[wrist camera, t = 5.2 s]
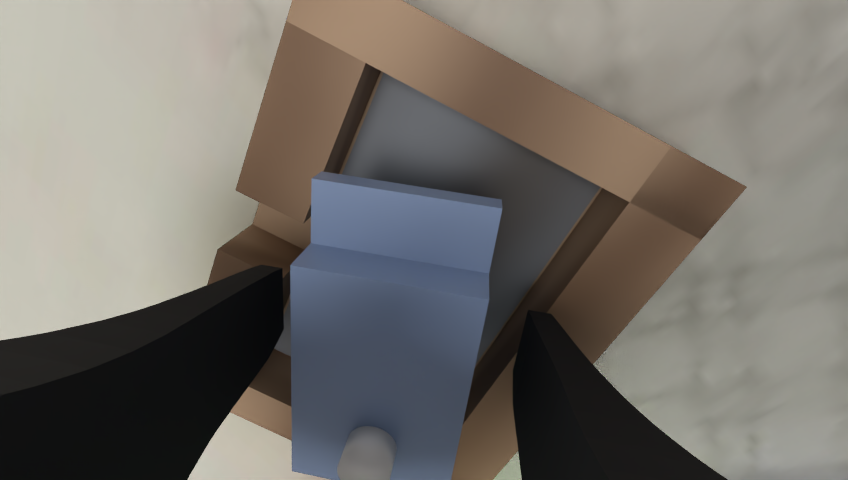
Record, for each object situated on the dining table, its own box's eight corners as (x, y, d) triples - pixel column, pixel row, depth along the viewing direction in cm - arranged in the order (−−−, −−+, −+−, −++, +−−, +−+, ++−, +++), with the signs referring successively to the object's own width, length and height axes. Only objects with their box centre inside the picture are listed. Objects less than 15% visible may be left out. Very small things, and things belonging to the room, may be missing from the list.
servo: (498, 163, 12) (506, 247, 7) (452, 401, 16) (434, 574, 11) (361, 143, 13) (269, 208, 7) (347, 381, 16) (279, 539, 11)
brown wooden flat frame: (690, 157, 13) (747, 186, 10) (463, 448, 18) (459, 518, 16) (349, -27, 12) (307, -51, 9) (224, 335, 18) (176, 387, 15)
